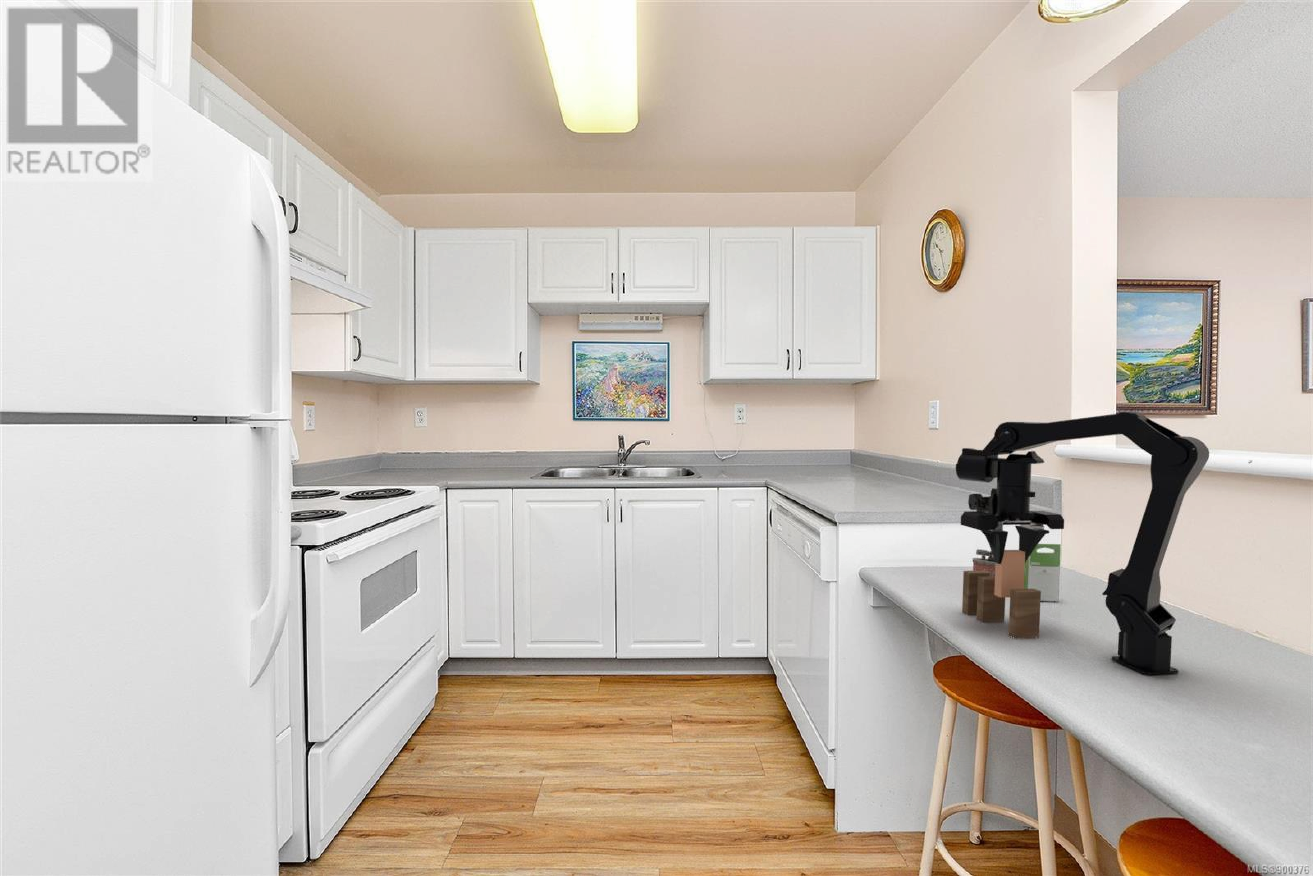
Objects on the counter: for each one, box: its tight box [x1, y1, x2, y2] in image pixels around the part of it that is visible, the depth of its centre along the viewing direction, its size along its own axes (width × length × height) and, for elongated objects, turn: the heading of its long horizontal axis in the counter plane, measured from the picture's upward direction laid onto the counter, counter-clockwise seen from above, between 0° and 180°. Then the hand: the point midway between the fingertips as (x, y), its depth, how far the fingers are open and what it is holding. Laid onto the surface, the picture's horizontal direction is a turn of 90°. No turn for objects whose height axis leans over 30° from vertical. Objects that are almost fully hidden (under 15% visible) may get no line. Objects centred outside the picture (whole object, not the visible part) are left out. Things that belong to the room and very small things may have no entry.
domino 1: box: [961, 570, 990, 616], centre depth 127 cm, size 2×5×9 cm, turn 99°
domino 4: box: [1008, 589, 1042, 640], centre depth 114 cm, size 2×5×9 cm, turn 99°
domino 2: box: [976, 576, 1006, 623], centre depth 123 cm, size 2×5×9 cm, turn 99°
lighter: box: [972, 548, 996, 576], centre depth 144 cm, size 8×3×10 cm, turn 58°
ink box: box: [1024, 543, 1062, 603], centre depth 138 cm, size 7×4×13 cm, turn 84°
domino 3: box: [994, 549, 1025, 598], centre depth 118 cm, size 2×5×9 cm, turn 98°
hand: (1010, 563), depth 118 cm, fingers closed on domino 3, 5 cm apart
